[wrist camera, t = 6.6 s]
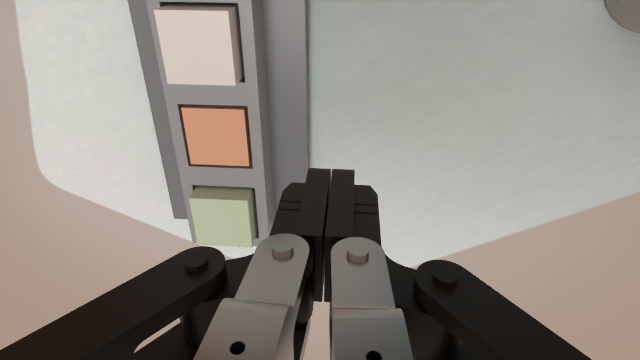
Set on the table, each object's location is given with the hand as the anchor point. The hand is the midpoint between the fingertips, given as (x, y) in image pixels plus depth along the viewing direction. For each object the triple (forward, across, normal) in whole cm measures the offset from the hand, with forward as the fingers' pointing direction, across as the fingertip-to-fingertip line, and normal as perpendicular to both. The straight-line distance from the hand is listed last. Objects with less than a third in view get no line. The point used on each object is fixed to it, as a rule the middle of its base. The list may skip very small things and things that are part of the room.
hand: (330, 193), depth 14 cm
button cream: (+22, +11, 0) cm, 25 cm away
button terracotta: (+24, +11, +8) cm, 27 cm away
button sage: (+22, +11, +16) cm, 29 cm away
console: (+27, +11, +8) cm, 30 cm away
